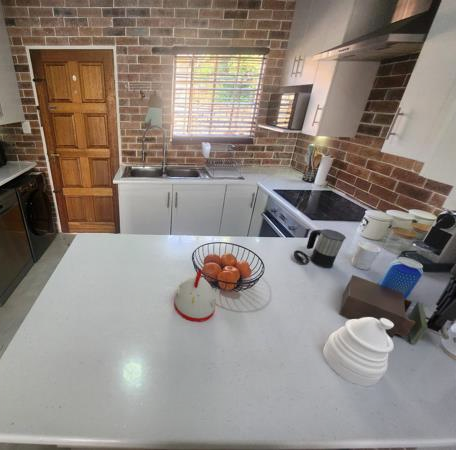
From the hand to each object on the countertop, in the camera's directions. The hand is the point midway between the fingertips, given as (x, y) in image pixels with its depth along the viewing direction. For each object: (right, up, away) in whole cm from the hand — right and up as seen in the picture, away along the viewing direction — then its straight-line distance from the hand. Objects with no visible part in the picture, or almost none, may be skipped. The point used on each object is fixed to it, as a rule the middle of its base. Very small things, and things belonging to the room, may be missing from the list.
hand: (430, 329), depth 76 cm
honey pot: (-30, -6, -7) cm, 32 cm away
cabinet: (-12, +2, +10) cm, 15 cm away
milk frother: (-13, +15, +37) cm, 42 cm away
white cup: (+8, +14, +36) cm, 39 cm away
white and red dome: (-71, +4, +10) cm, 72 cm away
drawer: (-5, 0, +5) cm, 7 cm away
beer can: (+4, +5, +18) cm, 19 cm away
